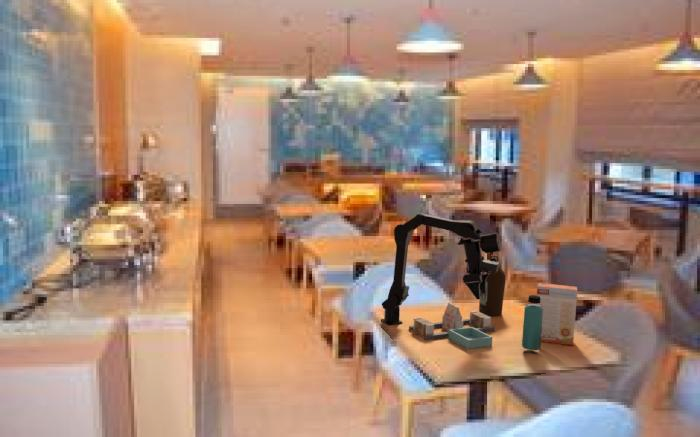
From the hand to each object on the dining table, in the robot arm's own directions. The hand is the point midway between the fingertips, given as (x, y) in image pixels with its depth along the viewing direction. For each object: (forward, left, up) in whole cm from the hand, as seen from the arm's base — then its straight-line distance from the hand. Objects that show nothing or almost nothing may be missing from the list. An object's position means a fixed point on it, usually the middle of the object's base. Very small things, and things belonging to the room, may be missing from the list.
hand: (481, 296), depth 234 cm
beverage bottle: (+20, +8, -16) cm, 26 cm away
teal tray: (+5, -7, -15) cm, 18 cm away
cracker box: (+14, +24, -16) cm, 31 cm away
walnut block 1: (-9, -18, -16) cm, 26 cm away
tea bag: (-9, -5, -16) cm, 19 cm away
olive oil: (-23, +24, -16) cm, 37 cm away
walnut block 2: (-9, +8, -16) cm, 20 cm away
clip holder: (-9, -5, -15) cm, 19 cm away
